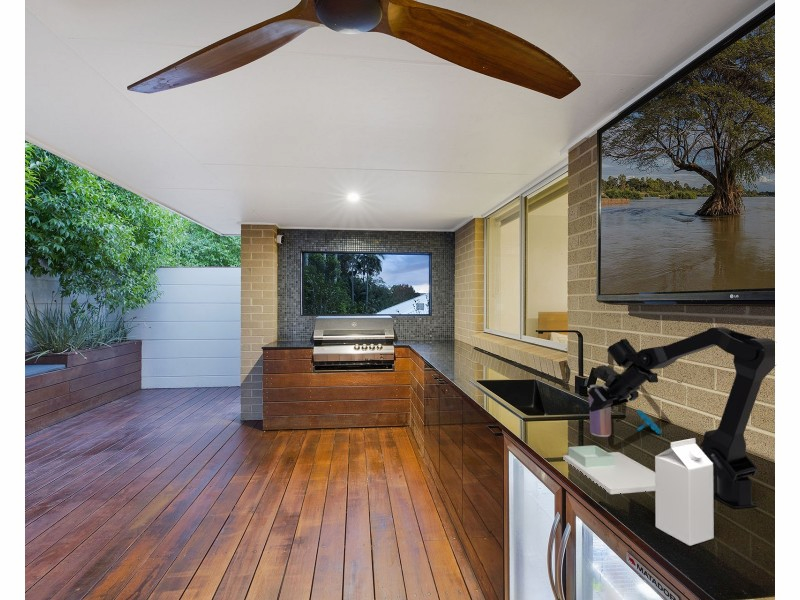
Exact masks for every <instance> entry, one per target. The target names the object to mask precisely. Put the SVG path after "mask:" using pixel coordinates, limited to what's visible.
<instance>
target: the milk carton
mask: <svg viewBox="0 0 800 600" xmlns="http://www.w3.org/2000/svg"><path fill="white" fill-rule="evenodd" d="M696 442H697V441H696V437H694V438H688V439H682V440H678V441H677V440H676V441H672V442H670V448H668V449H666V450H664V451H663V452H660V453H659V454H656V455H655V456H654V458H655V459H654V467H655V470H654V472H655V491H654V492H655V493H654V494H655V496H654V497H655V498H654V499H655V503H654V504H655V506H654V508H655V528H657V529H659V530H660V531H662V532H664V533H665V534H667V535H669V536H672V537H673V538H675V539H677V540H678V541H680V542H682V543H684V544H686V545H687V546H689V547H690V546H693V545H697V544H700V543H703V542H706V541H709V540H713V539H714V538H715V537H714V536H715V535H714V532H715V531H714V529H715V528H714V527H715V526H714V521H715V519H714V518H715V517H714V498H713V493H714V475H713V463H712V462H711V461H710V459H709V458H708V457H707V456H706V455H705V454H704V453H703V451H702V449H701V448H700V446H699V445H698V444H697V443H696Z"/></svg>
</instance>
